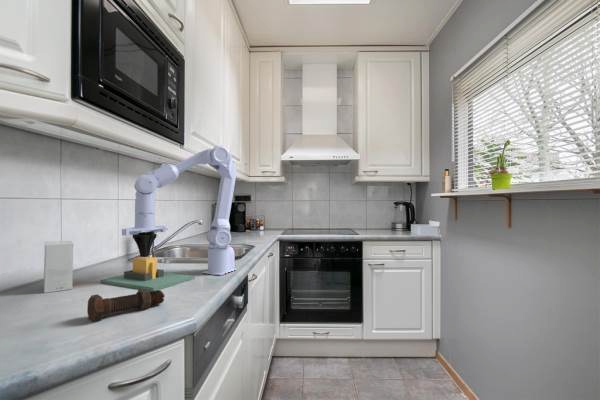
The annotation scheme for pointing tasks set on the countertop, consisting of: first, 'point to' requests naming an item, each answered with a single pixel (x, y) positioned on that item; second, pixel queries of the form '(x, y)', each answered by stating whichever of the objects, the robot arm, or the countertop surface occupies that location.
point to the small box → (58, 266)
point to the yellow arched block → (145, 265)
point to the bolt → (122, 303)
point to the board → (147, 280)
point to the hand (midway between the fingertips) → (144, 256)
